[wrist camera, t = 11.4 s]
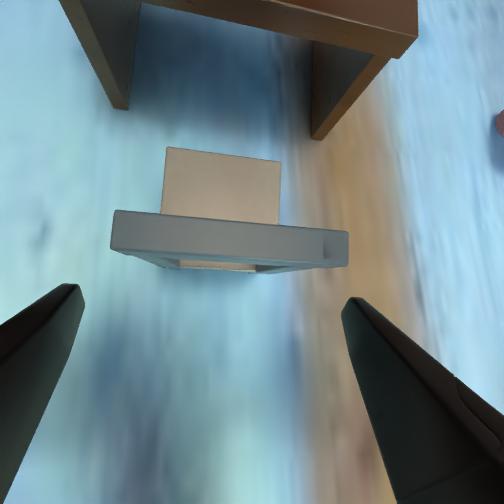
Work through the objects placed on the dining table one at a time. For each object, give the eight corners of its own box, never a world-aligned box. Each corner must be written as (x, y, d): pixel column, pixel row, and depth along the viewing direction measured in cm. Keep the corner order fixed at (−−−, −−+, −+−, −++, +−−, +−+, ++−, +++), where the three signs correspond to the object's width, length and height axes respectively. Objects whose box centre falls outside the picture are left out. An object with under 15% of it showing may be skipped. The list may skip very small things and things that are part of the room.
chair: (258, 277, 19) (364, 267, 7) (167, 272, 18) (87, 247, 6) (262, 190, 20) (364, 35, 8) (175, 180, 19) (122, -21, 6)
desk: (323, 145, 22) (419, 36, 12) (111, 113, 19) (16, -62, 9) (325, 35, 23) (414, -143, 13) (126, -10, 20) (57, -277, 11)
